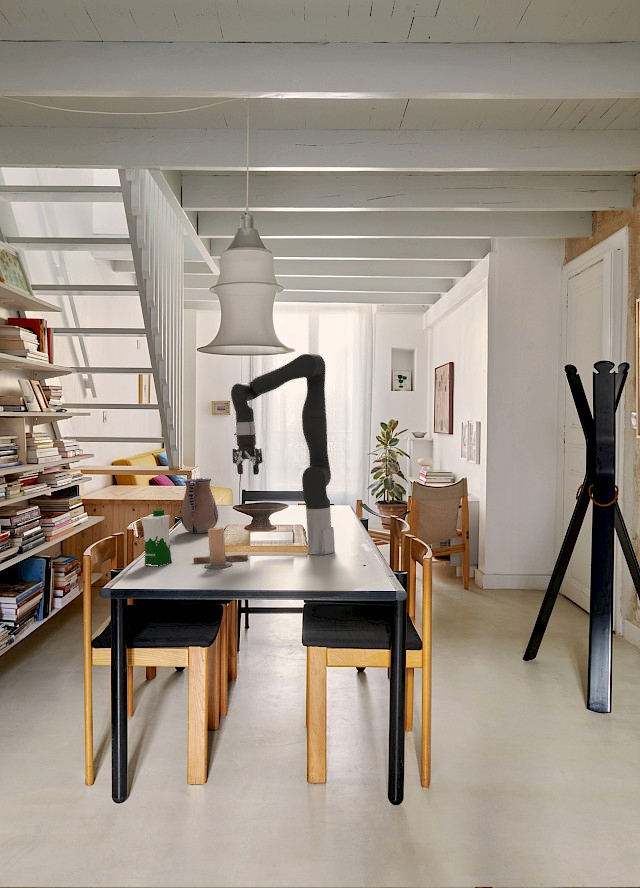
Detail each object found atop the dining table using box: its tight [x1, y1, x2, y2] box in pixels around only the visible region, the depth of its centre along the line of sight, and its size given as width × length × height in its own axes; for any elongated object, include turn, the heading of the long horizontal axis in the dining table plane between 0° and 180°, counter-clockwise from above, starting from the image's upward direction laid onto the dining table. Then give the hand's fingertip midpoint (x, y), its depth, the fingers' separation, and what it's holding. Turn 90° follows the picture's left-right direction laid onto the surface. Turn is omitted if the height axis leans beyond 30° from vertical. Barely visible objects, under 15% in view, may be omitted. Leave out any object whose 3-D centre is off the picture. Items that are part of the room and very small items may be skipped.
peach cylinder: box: [207, 527, 227, 566], centre depth 259 cm, size 6×6×13 cm
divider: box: [192, 553, 249, 564], centre depth 267 cm, size 20×2×2 cm, turn 91°
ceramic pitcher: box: [180, 477, 219, 535], centre depth 337 cm, size 18×21×25 cm
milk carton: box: [140, 509, 172, 567], centre depth 268 cm, size 9×9×20 cm
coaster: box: [203, 561, 233, 570], centre depth 260 cm, size 10×10×1 cm
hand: (248, 474), depth 286 cm, fingers open, 8 cm apart
